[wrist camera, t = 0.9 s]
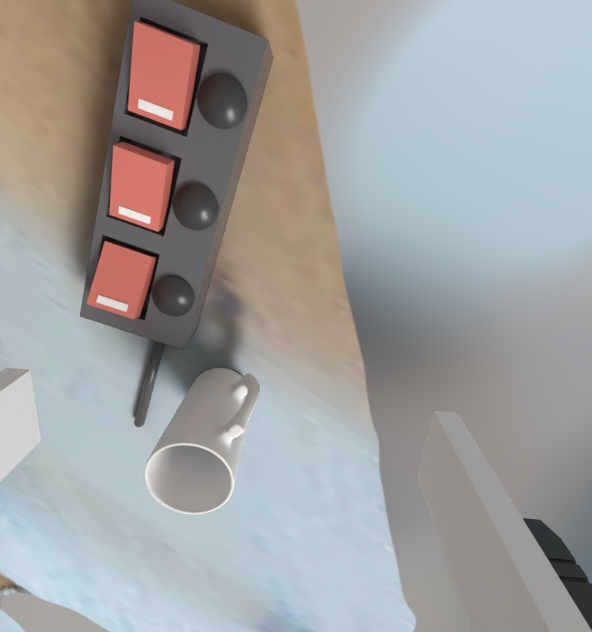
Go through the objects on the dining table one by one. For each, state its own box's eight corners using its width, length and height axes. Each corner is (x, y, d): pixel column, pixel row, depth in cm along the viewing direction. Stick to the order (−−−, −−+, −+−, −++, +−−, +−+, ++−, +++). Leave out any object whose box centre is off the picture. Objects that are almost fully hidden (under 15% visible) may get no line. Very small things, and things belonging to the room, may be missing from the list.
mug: (224, 432, 42) (194, 528, 31) (176, 393, 40) (125, 479, 29) (290, 374, 39) (283, 456, 28) (241, 330, 38) (212, 398, 26)
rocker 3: (94, 302, 32) (85, 304, 31) (112, 242, 32) (104, 240, 30) (139, 317, 33) (133, 319, 31) (157, 257, 32) (152, 257, 31)
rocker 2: (118, 208, 31) (108, 215, 30) (123, 141, 28) (112, 145, 27) (165, 225, 31) (157, 232, 30) (174, 160, 28) (166, 165, 27)
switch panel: (84, 406, 41) (58, 433, 37) (158, 11, 29) (132, -17, 25) (167, 431, 42) (151, 460, 38) (273, 57, 30) (267, 38, 25)
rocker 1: (136, 107, 28) (127, 110, 27) (144, 22, 25) (133, 21, 24) (187, 127, 29) (180, 130, 27) (200, 45, 26) (193, 44, 25)
